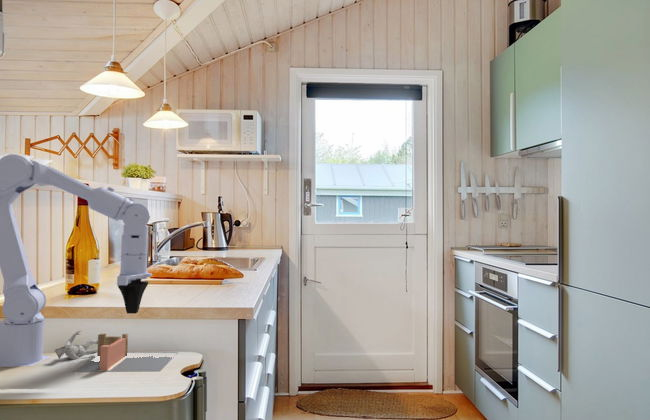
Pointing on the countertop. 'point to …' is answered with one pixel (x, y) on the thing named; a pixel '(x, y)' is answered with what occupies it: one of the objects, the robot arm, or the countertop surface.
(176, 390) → the countertop surface
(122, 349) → the fence panel
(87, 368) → the board
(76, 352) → the soldier figure
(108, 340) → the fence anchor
